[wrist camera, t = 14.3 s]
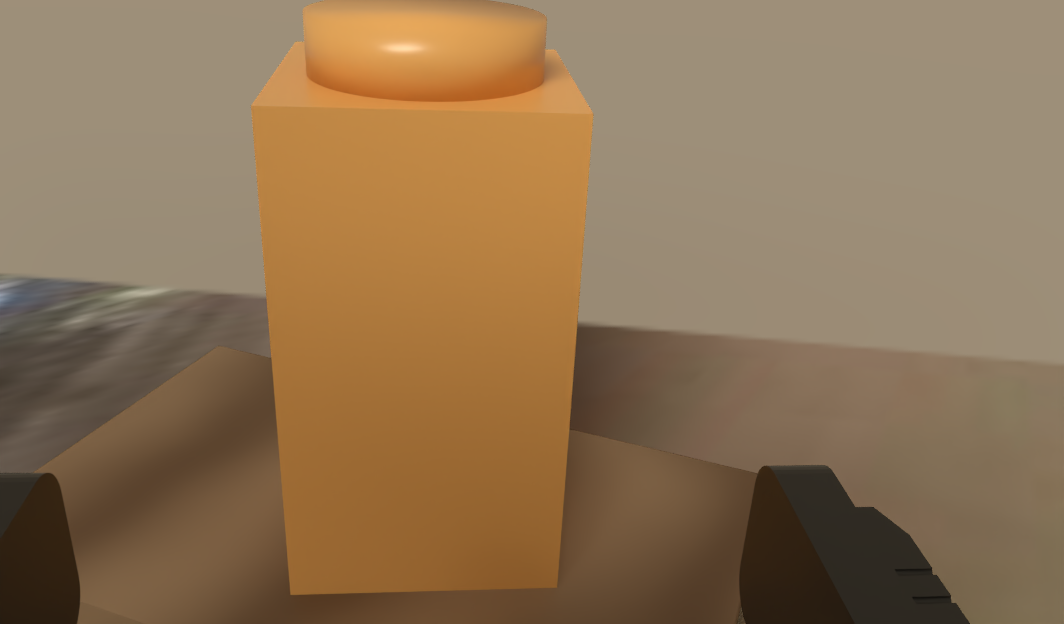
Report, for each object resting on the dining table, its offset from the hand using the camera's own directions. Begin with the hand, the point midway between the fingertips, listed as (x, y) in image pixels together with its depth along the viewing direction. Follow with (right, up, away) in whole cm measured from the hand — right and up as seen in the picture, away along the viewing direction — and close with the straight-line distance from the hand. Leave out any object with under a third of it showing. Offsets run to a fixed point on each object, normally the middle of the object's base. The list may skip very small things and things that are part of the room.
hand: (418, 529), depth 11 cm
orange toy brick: (-1, -2, +13) cm, 13 cm away
